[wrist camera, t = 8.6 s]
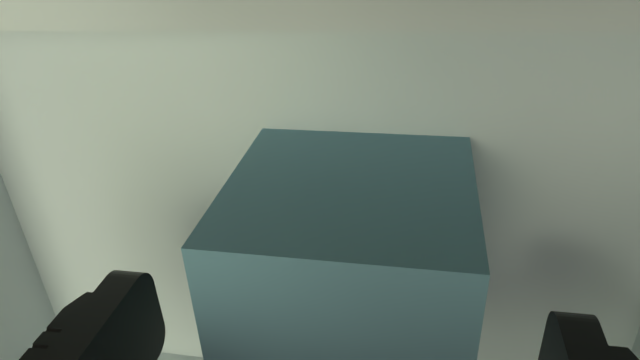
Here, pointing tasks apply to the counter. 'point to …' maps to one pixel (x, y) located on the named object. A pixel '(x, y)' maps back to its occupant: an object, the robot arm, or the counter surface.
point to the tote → (319, 115)
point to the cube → (342, 251)
